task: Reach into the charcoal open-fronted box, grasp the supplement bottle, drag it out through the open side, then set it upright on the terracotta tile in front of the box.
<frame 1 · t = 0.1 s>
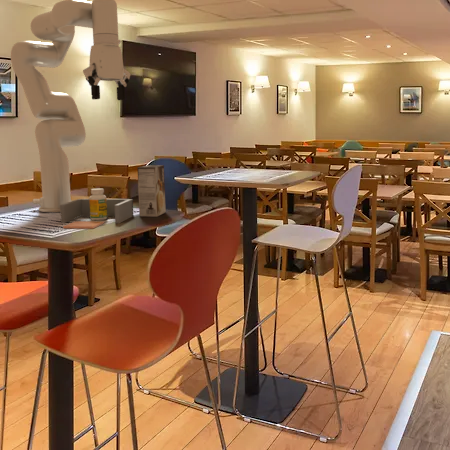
hand: (108, 99, 180), 37 cm above the table, tool pointing down, fingers open, 9 cm apart
open box: (97, 219, 185), on the table
supplement bottle: (98, 219, 186), on the table
coffee box: (152, 215, 194), on the table
tile: (83, 225, 173), on the table
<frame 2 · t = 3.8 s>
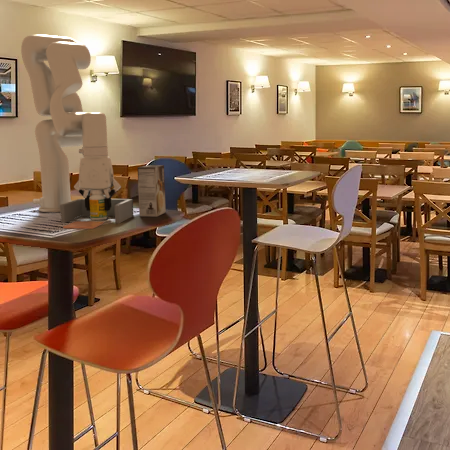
hand: (98, 209, 186), 3 cm above the table, tool pointing down, fingers closed on supplement bottle, 5 cm apart
supplement bottle: (98, 219, 186), on the table, touching gripper
everything else where it was.
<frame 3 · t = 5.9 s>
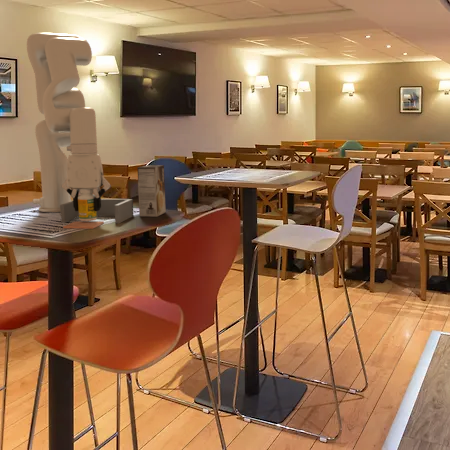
hand: (87, 209, 176), 4 cm above the table, tool pointing down, fingers closed on supplement bottle, 5 cm apart
supplement bottle: (88, 220, 177), point 1 cm above the table, touching gripper
everything else where it was.
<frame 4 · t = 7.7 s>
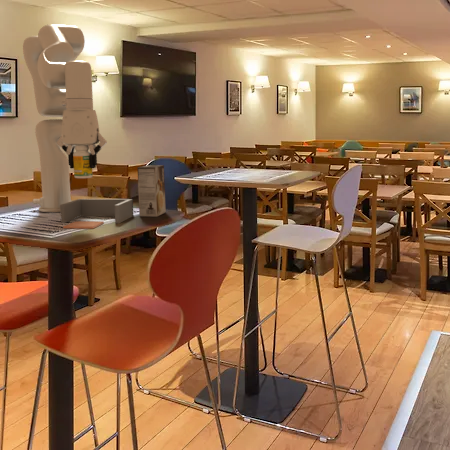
hand: (83, 167, 173), 17 cm above the table, tool pointing down, fingers closed on supplement bottle, 5 cm apart
supplement bottle: (83, 178, 173), point 14 cm above the table, touching gripper
everything else where it was.
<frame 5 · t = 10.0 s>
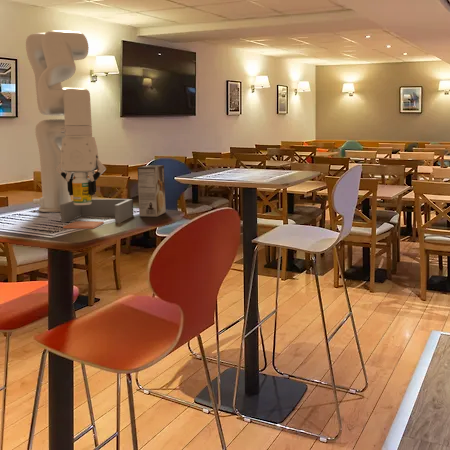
hand: (82, 194, 172), 9 cm above the table, tool pointing down, fingers closed on supplement bottle, 5 cm apart
supplement bottle: (82, 204, 172), point 6 cm above the table, touching gripper
everything else where it was.
when the fingers open (4 cm above the table, at t = 12.1 s): supplement bottle stays where it is, resting on tile.
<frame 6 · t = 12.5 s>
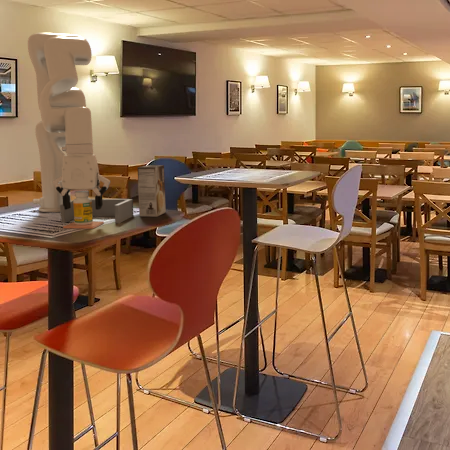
hand: (83, 208, 173), 5 cm above the table, tool pointing down, fingers open, 9 cm apart
supplement bottle: (83, 224, 174), resting on tile
everything else where it was.
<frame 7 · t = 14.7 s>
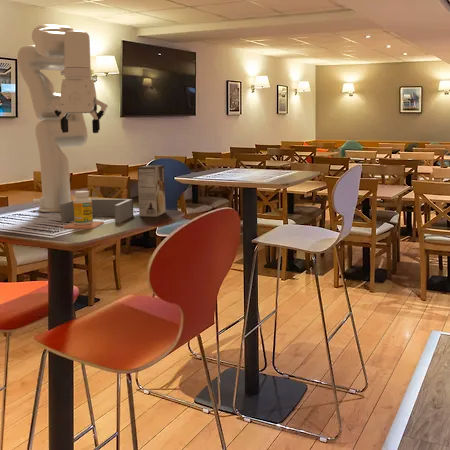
hand: (80, 132, 178), 27 cm above the table, tool pointing down, fingers open, 9 cm apart
nothing on the table moved.
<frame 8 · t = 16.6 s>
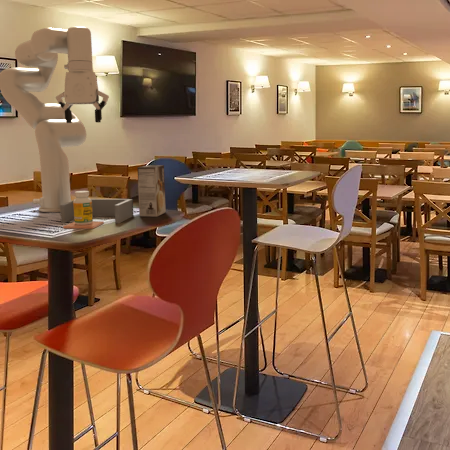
hand: (83, 122, 189), 30 cm above the table, tool pointing down, fingers open, 9 cm apart
nothing on the table moved.
at the end: supplement bottle inside the target area on the tile (0.2 cm from its centre), point 0.4 cm above the tile's base; supplement bottle tilted 0°; the gripper is holding nothing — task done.
